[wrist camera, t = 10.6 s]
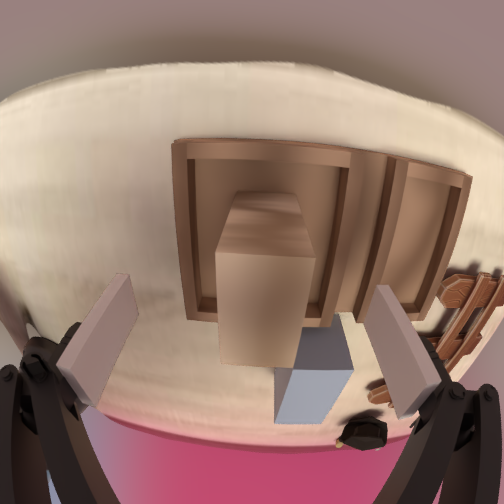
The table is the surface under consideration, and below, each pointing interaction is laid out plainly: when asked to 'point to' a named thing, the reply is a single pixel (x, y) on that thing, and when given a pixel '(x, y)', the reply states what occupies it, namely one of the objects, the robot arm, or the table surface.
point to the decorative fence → (459, 319)
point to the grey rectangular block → (313, 376)
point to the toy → (364, 434)
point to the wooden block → (263, 280)
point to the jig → (323, 219)
